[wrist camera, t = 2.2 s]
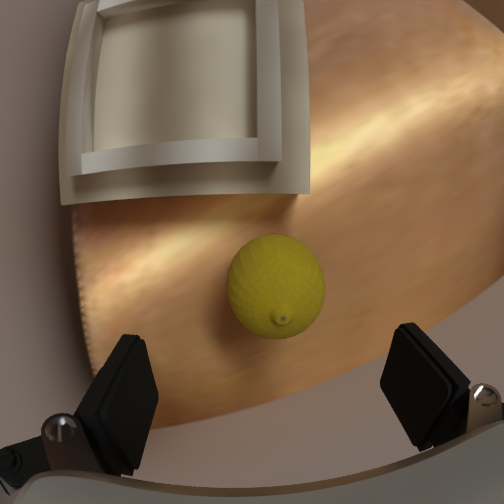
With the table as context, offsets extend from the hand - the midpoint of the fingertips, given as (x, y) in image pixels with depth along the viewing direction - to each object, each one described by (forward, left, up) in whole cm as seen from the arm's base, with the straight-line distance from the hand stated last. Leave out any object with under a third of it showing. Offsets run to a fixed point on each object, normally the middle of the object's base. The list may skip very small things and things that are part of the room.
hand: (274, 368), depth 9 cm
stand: (+5, -13, -11) cm, 18 cm away
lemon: (-1, 0, -11) cm, 11 cm away
